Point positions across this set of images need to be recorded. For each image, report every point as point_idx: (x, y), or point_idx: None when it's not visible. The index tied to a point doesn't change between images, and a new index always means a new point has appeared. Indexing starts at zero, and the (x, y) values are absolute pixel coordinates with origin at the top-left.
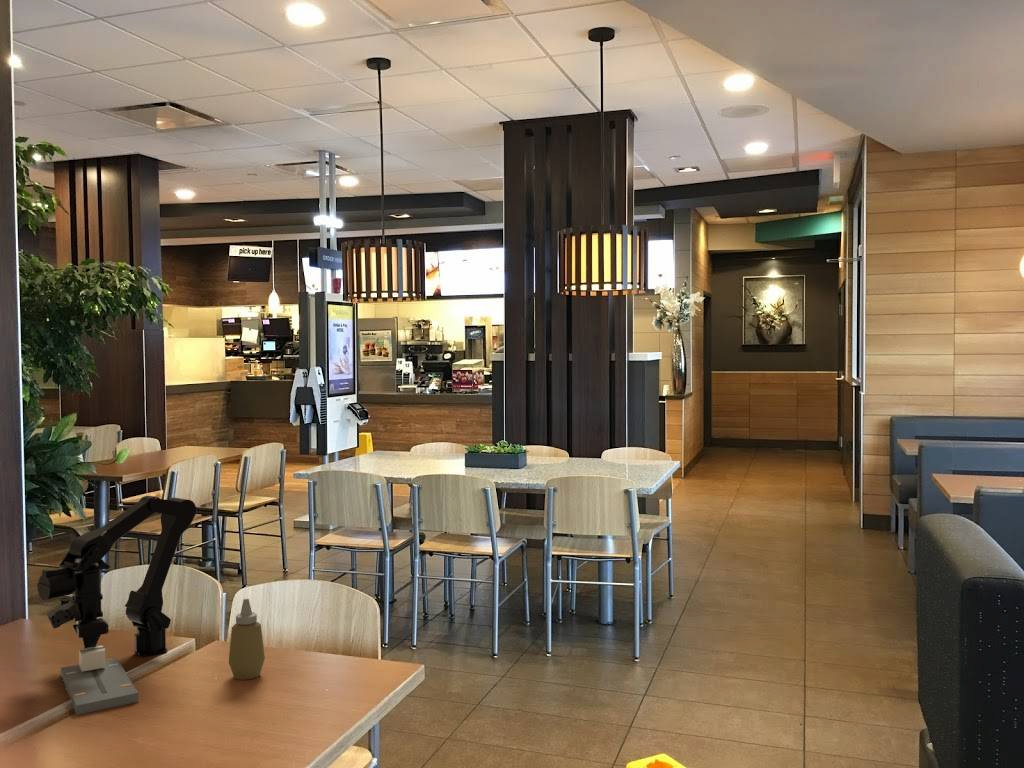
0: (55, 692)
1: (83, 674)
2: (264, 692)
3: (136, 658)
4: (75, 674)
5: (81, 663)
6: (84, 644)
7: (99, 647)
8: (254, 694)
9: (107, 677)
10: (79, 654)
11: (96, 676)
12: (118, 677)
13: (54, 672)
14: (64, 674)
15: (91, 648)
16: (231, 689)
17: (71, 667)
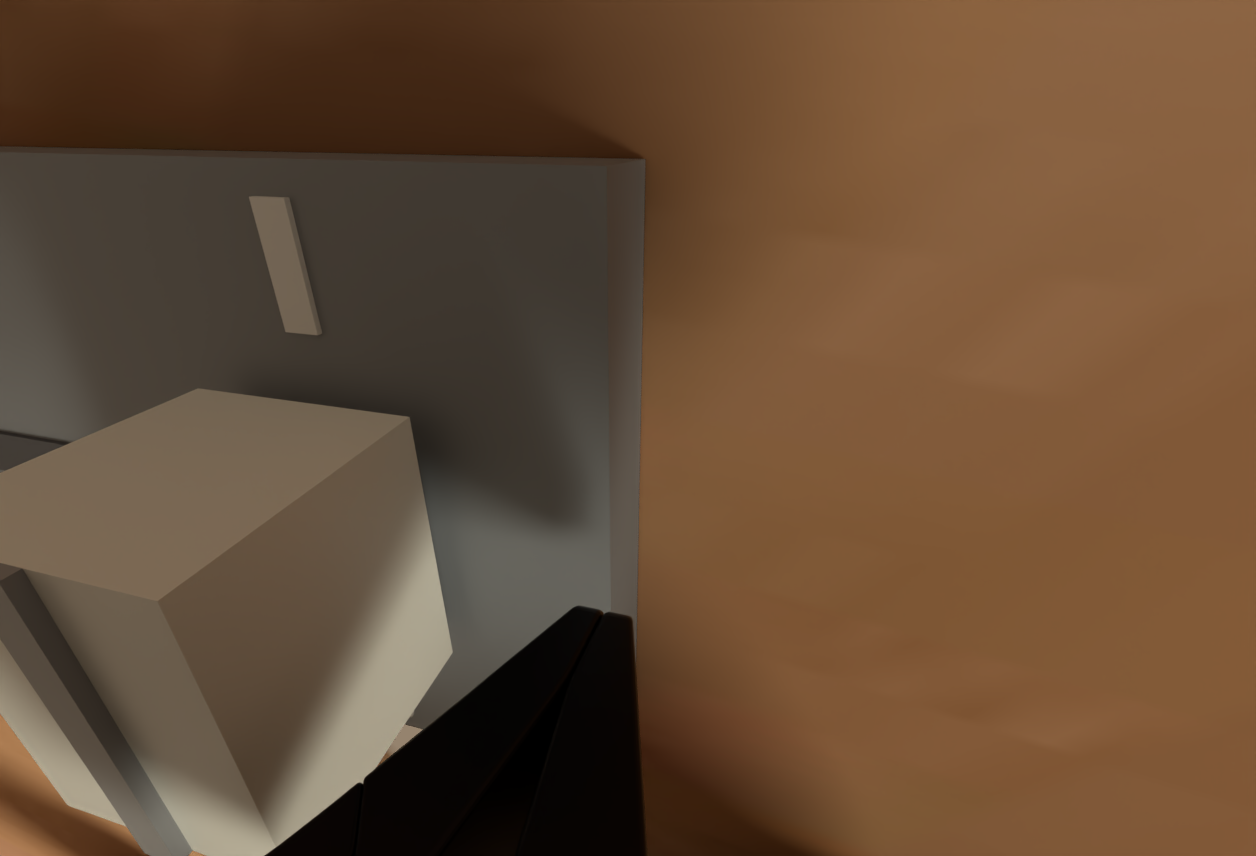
0: (82, 7)
1: (201, 387)
2: (23, 841)
3: (735, 845)
4: (220, 308)
5: (87, 440)
6: (359, 786)
7: (140, 823)
8: (6, 819)
9: None
10: (196, 526)
11: None
12: None
13: (927, 81)
14: (254, 171)
15: (179, 749)
16: (56, 812)
17: (529, 326)
